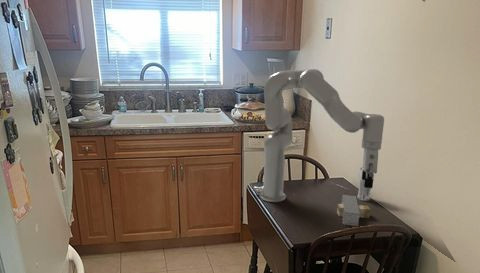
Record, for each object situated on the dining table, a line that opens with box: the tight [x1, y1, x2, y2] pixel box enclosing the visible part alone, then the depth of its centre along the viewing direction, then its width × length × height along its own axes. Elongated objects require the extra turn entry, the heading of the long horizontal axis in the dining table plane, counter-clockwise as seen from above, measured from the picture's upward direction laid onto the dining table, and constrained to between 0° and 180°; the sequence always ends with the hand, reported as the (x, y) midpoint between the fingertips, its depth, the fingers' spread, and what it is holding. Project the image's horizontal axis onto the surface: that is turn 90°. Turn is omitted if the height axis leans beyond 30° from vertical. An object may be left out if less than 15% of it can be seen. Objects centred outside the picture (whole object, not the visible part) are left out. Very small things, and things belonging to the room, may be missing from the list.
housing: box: [340, 194, 360, 227], centre depth 161 cm, size 6×19×6 cm, turn 167°
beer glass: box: [356, 166, 375, 202], centre depth 179 cm, size 7×7×15 cm
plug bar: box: [336, 203, 371, 219], centre depth 162 cm, size 13×4×4 cm, turn 86°
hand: (366, 183), depth 157 cm, fingers open, 9 cm apart
